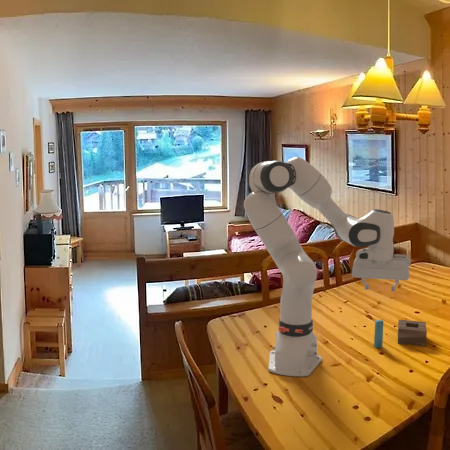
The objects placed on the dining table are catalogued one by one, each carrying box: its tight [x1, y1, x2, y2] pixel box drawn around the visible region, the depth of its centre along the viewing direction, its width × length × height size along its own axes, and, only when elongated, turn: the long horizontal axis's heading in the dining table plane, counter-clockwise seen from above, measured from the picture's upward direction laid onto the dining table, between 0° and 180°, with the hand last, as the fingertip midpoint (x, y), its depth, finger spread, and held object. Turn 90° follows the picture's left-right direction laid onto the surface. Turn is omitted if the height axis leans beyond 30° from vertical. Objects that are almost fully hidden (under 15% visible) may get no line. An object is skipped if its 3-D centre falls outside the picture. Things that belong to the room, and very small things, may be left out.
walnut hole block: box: [397, 319, 428, 347], centre depth 204 cm, size 10×10×6 cm
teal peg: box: [373, 319, 384, 349], centre depth 198 cm, size 3×3×10 cm
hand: (379, 290), depth 196 cm, fingers open, 8 cm apart
